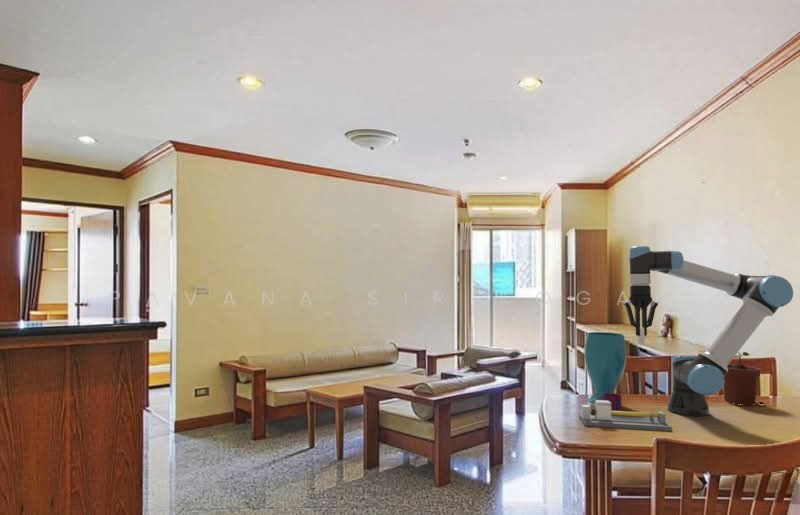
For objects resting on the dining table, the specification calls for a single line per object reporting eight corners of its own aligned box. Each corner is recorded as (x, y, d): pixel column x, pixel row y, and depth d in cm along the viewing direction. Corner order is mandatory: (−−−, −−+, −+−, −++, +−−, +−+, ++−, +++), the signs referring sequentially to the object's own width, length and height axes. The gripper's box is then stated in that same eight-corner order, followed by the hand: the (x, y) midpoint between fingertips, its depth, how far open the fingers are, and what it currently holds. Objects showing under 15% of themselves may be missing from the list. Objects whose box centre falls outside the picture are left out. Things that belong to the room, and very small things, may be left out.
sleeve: (608, 416, 206) (608, 400, 206) (611, 420, 202) (611, 403, 202) (594, 416, 207) (594, 399, 207) (597, 419, 202) (597, 402, 203)
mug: (624, 413, 220) (625, 396, 221) (604, 414, 217) (605, 397, 217) (613, 409, 227) (613, 392, 227) (593, 410, 223) (593, 394, 224)
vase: (586, 405, 233) (587, 335, 234) (582, 396, 250) (582, 331, 251) (629, 408, 229) (629, 336, 230) (621, 399, 246) (622, 332, 247)
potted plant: (708, 399, 249) (708, 345, 250) (738, 396, 258) (737, 343, 259) (747, 408, 233) (746, 350, 234) (777, 404, 242) (777, 348, 243)
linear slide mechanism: (661, 422, 207) (661, 406, 207) (671, 431, 195) (671, 414, 195) (579, 417, 211) (579, 402, 211) (585, 425, 199) (585, 409, 200)
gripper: (653, 284, 220) (655, 343, 219) (620, 284, 221) (621, 342, 220) (660, 285, 212) (662, 345, 212) (626, 285, 214) (627, 345, 213)
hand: (641, 344), depth 216 cm, fingers closed
